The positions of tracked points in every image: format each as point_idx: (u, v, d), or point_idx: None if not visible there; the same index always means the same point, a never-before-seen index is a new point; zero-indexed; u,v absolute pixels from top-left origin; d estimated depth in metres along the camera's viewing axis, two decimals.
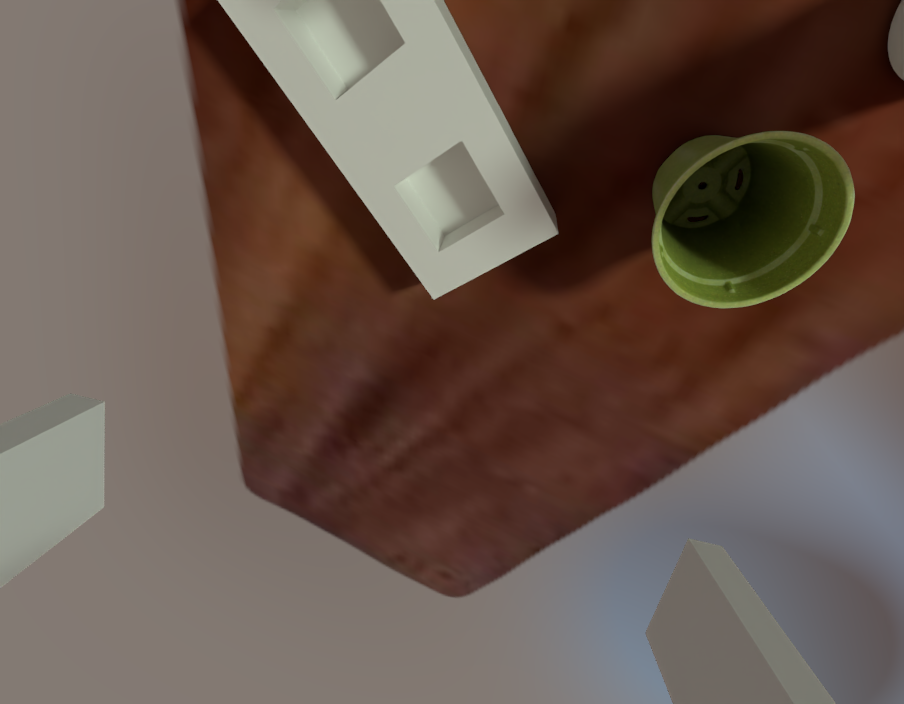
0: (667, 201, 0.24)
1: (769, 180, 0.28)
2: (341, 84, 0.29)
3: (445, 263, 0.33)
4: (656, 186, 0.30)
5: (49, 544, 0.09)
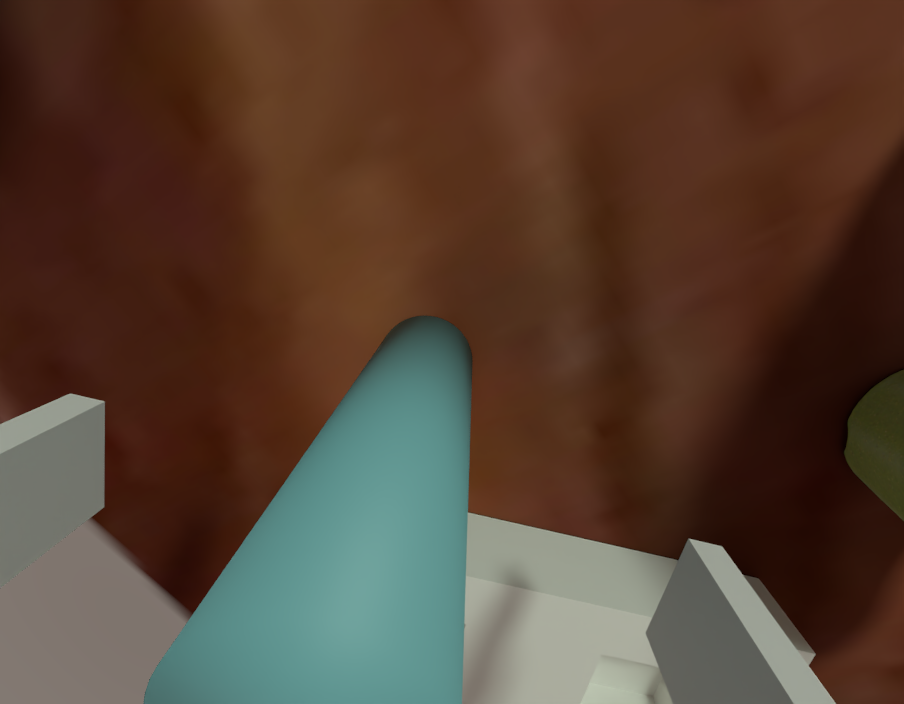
0: None
1: None
2: None
3: None
4: (877, 494, 0.19)
5: (49, 544, 0.09)
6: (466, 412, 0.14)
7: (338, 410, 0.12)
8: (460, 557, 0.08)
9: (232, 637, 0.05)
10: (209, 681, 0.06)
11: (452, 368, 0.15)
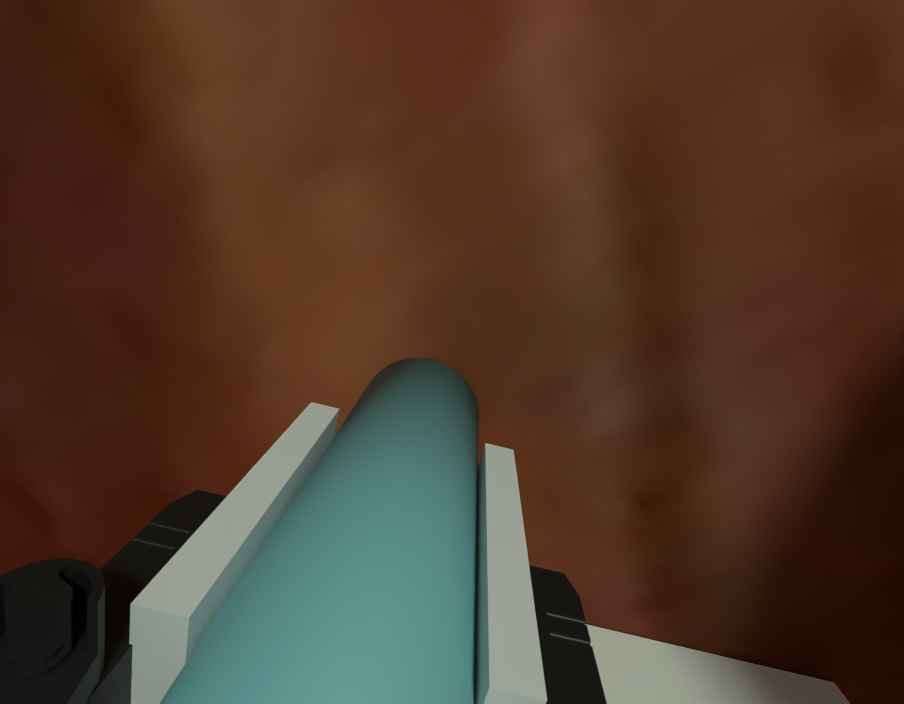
0: None
1: None
2: None
3: None
4: None
5: None
6: (471, 523, 0.09)
7: (270, 545, 0.07)
8: None
9: None
10: None
11: (452, 446, 0.11)
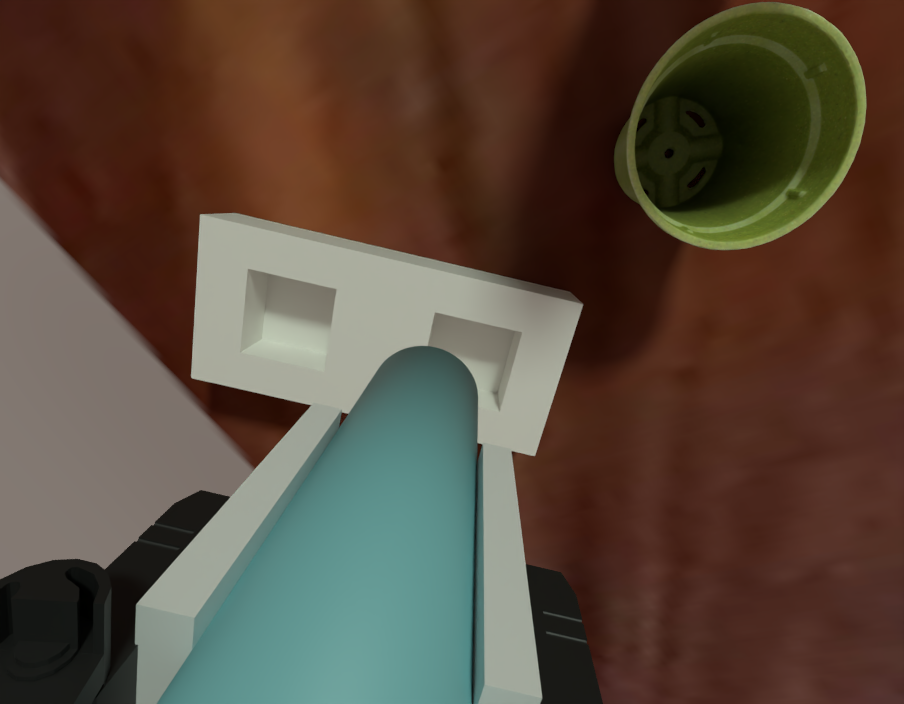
0: (639, 189, 0.20)
1: (721, 90, 0.24)
2: (325, 356, 0.31)
3: (514, 416, 0.29)
4: (628, 191, 0.26)
5: None
6: (472, 482, 0.11)
7: (303, 491, 0.09)
8: None
9: None
10: None
11: (455, 419, 0.12)
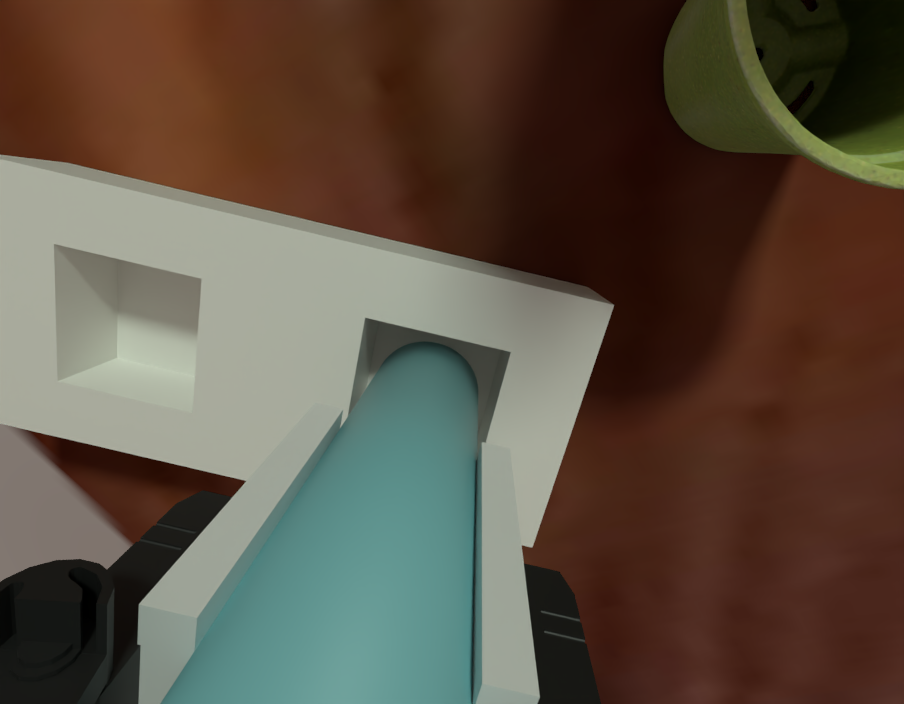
0: (750, 55, 0.09)
1: None
2: None
3: None
4: (689, 116, 0.16)
5: None
6: (472, 467, 0.11)
7: (316, 473, 0.09)
8: None
9: None
10: None
11: (456, 409, 0.13)
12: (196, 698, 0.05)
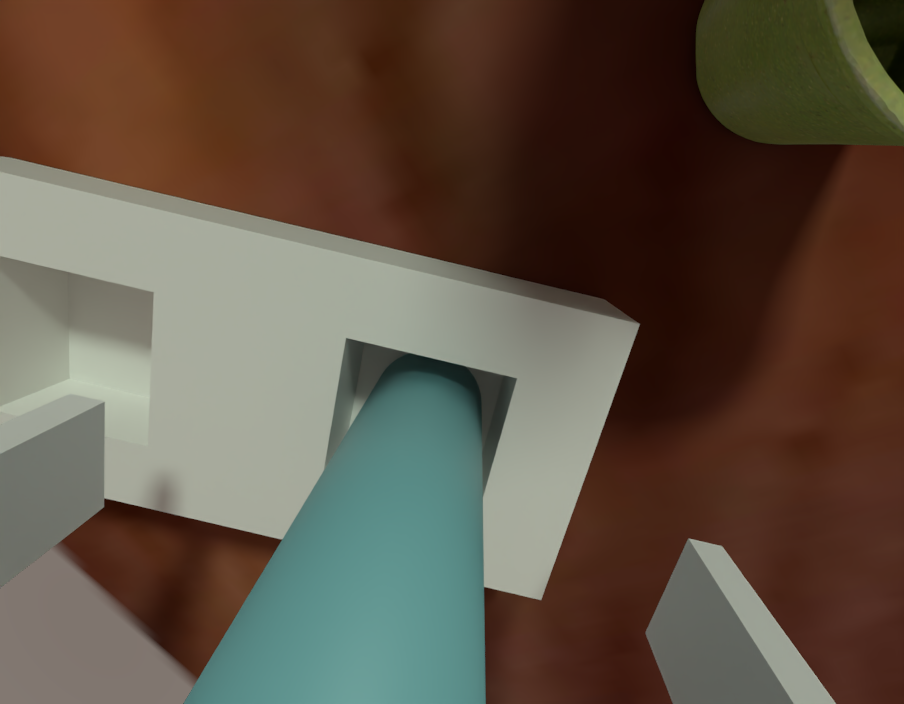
0: (845, 5, 0.07)
1: None
2: None
3: (502, 530, 0.15)
4: (728, 101, 0.13)
5: (49, 544, 0.09)
6: (478, 488, 0.11)
7: (313, 500, 0.09)
8: None
9: None
10: None
11: (460, 425, 0.12)
12: None
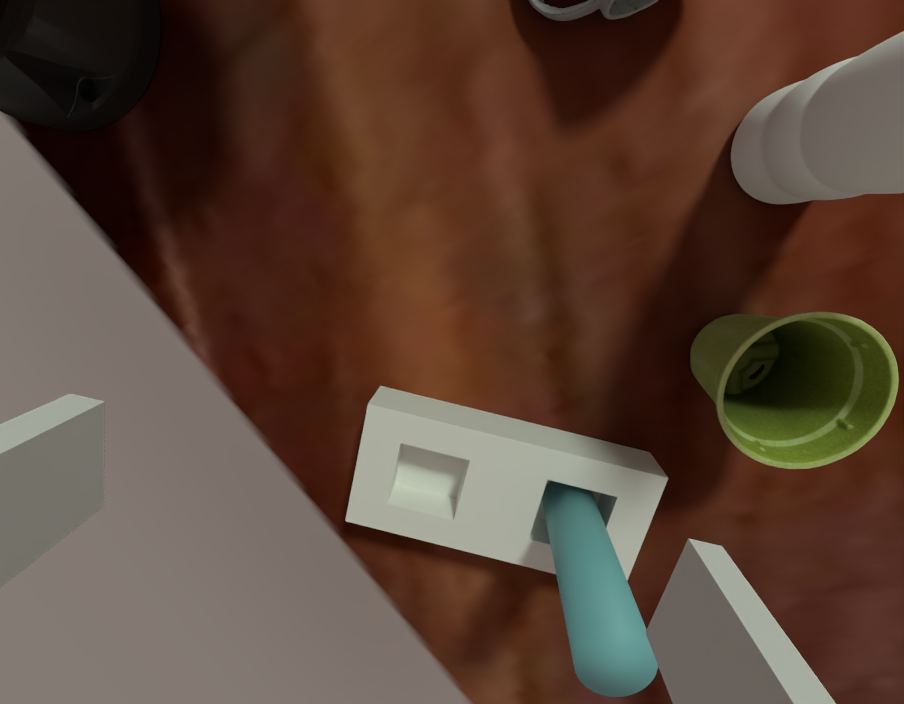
0: (725, 426, 0.27)
1: None
2: (447, 499, 0.38)
3: None
4: None
5: (49, 544, 0.09)
6: (612, 544, 0.31)
7: (570, 550, 0.29)
8: None
9: (605, 635, 0.22)
10: (595, 647, 0.23)
11: (600, 518, 0.32)
12: (592, 605, 0.24)
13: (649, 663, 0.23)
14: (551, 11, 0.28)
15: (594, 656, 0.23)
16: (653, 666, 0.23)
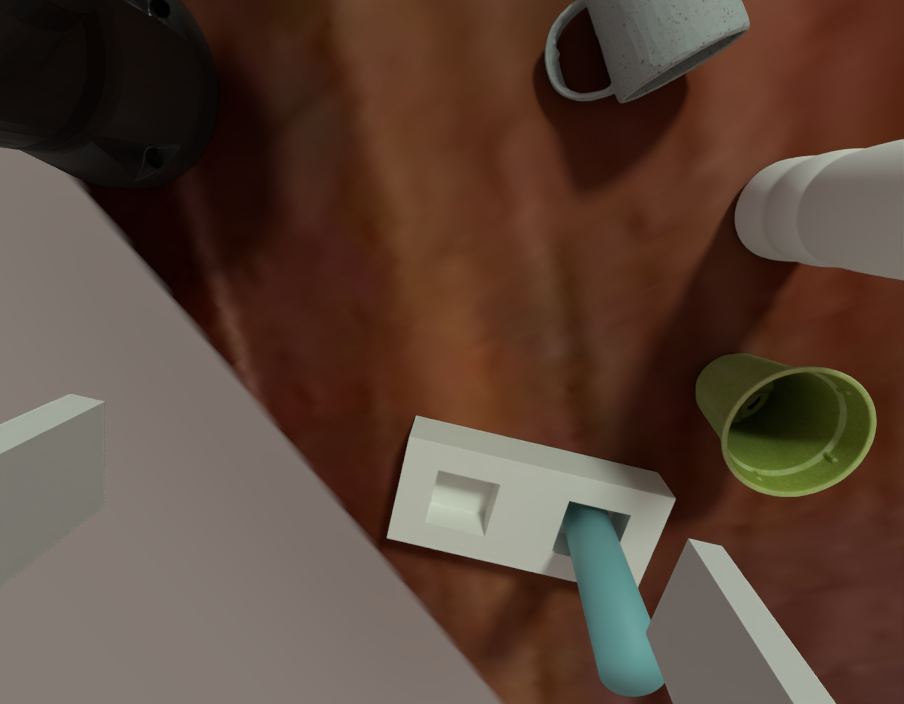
0: (729, 461, 0.31)
1: None
2: (477, 516, 0.42)
3: None
4: (707, 419, 0.38)
5: (49, 544, 0.09)
6: None
7: (591, 568, 0.33)
8: None
9: (624, 648, 0.27)
10: (617, 657, 0.27)
11: (615, 537, 0.37)
12: (613, 621, 0.29)
13: None
14: (572, 95, 0.32)
15: (616, 664, 0.27)
16: None
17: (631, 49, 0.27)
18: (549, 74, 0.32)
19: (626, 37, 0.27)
